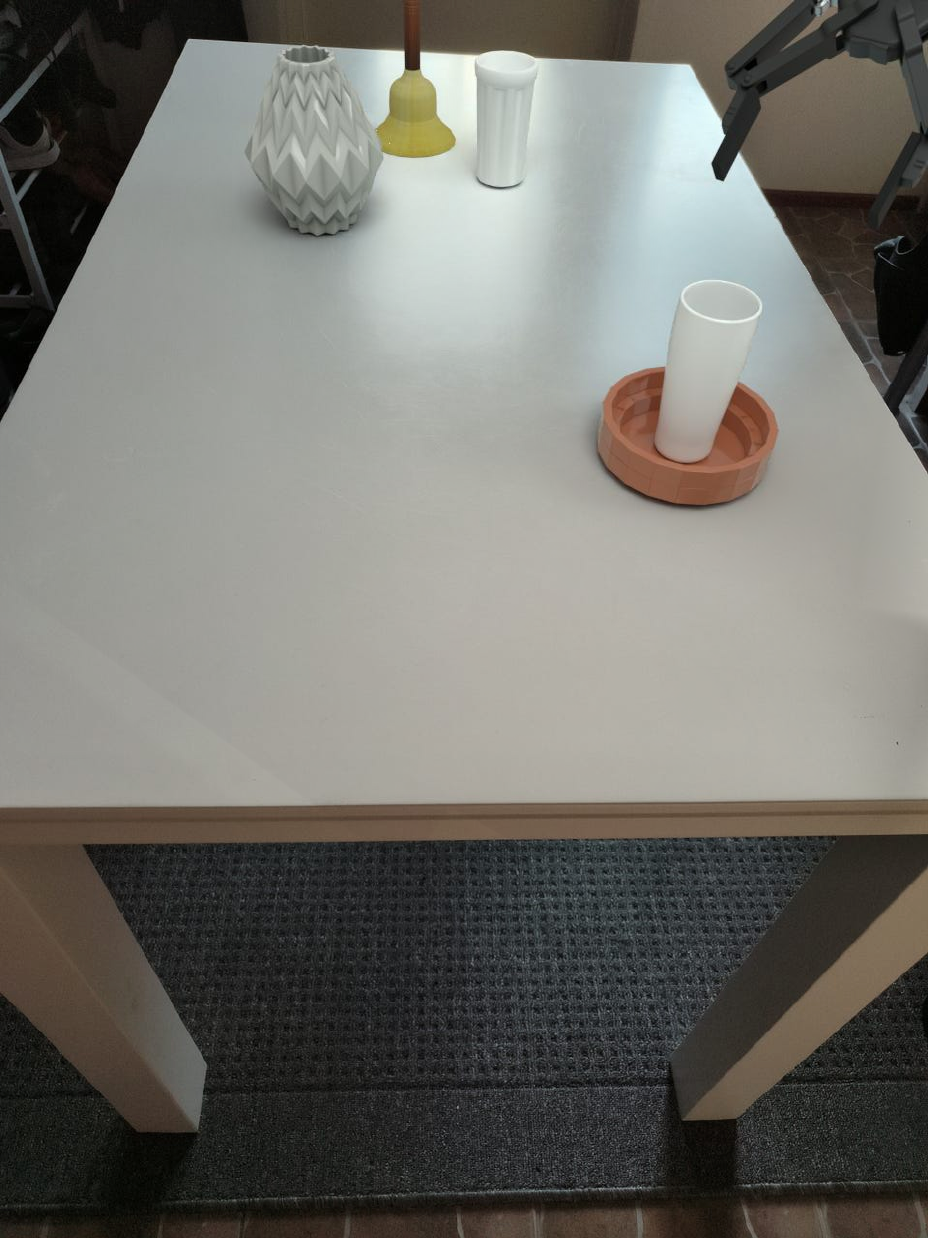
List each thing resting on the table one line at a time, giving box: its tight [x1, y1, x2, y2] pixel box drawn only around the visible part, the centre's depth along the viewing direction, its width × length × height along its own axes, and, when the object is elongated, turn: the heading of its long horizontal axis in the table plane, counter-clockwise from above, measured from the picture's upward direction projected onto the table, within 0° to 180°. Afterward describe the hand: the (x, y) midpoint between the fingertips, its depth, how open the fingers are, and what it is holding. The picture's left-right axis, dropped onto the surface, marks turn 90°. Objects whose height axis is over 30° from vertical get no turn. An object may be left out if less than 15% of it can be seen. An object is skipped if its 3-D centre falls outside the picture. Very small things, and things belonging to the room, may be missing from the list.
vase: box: [244, 44, 384, 237], centre depth 105 cm, size 16×16×18 cm
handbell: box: [374, 0, 457, 158], centre depth 119 cm, size 12×12×25 cm
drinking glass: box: [654, 279, 763, 463], centre depth 77 cm, size 7×7×15 cm
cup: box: [474, 50, 540, 188], centre depth 115 cm, size 8×8×14 cm
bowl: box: [597, 365, 779, 506], centre depth 82 cm, size 16×16×4 cm
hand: (792, 196), depth 73 cm, fingers open, 13 cm apart
